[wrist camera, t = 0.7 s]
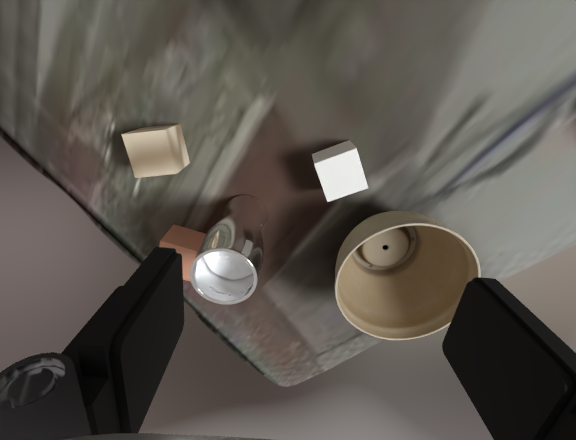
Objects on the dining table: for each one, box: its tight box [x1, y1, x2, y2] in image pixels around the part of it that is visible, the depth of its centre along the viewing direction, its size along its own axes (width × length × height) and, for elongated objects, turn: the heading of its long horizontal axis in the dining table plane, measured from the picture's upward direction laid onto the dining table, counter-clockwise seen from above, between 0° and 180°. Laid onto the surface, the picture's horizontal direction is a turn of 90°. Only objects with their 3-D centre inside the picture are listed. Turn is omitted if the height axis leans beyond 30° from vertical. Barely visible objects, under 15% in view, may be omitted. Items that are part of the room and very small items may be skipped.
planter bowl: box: [335, 211, 480, 340], centre depth 40 cm, size 16×16×11 cm
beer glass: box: [190, 195, 267, 304], centre depth 37 cm, size 7×7×15 cm
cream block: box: [312, 140, 368, 202], centre depth 38 cm, size 5×5×5 cm
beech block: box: [121, 124, 190, 178], centre depth 37 cm, size 5×5×5 cm
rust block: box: [159, 224, 206, 281], centre depth 43 cm, size 5×5×5 cm
